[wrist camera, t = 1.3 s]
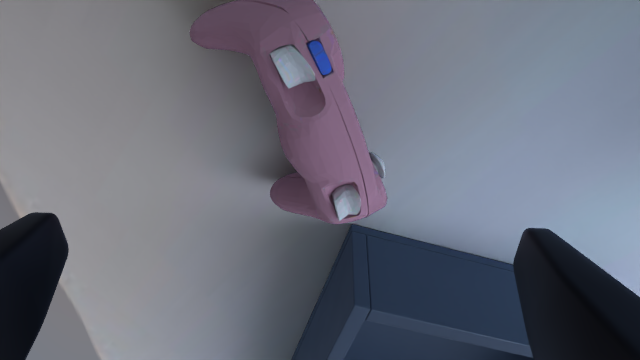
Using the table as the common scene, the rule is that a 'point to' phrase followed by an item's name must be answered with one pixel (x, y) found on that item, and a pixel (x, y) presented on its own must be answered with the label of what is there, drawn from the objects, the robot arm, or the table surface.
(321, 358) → the open box
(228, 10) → the video game controller
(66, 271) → the table surface
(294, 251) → the table surface
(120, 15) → the table surface
